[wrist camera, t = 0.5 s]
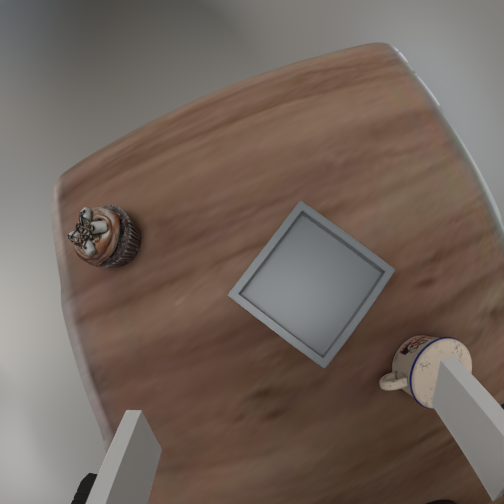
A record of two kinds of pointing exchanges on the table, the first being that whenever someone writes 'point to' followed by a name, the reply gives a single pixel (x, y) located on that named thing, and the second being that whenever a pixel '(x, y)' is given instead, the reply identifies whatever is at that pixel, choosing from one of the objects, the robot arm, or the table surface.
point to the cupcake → (105, 236)
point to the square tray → (312, 284)
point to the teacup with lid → (423, 366)
